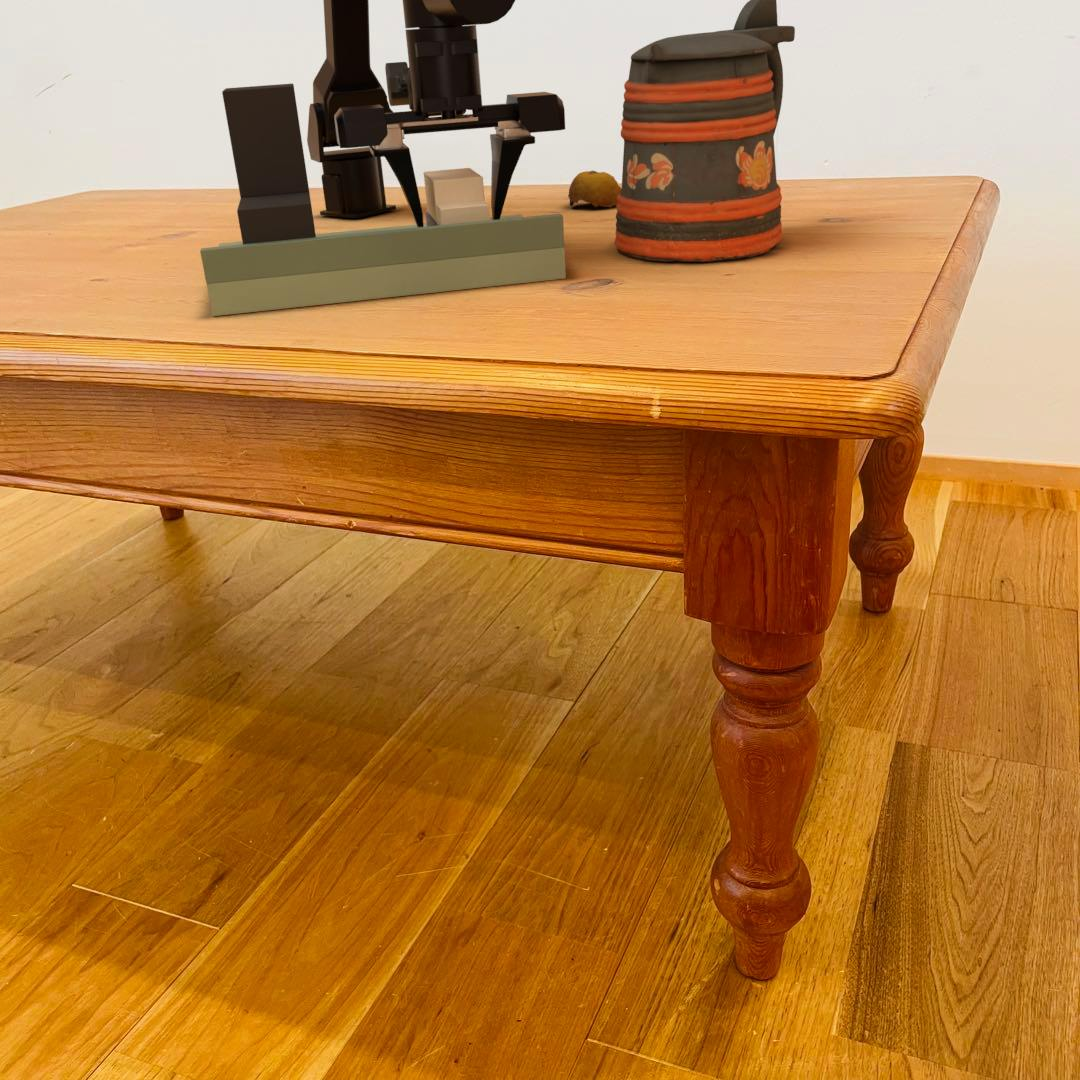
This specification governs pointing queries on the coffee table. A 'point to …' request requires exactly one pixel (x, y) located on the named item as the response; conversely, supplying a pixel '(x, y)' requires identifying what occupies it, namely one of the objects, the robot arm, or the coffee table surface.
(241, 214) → the dark notched upright block
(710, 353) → the coffee table surface
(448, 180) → the stepped wooden block stack
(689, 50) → the beer stein
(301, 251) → the olive green plank
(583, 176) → the fruit
